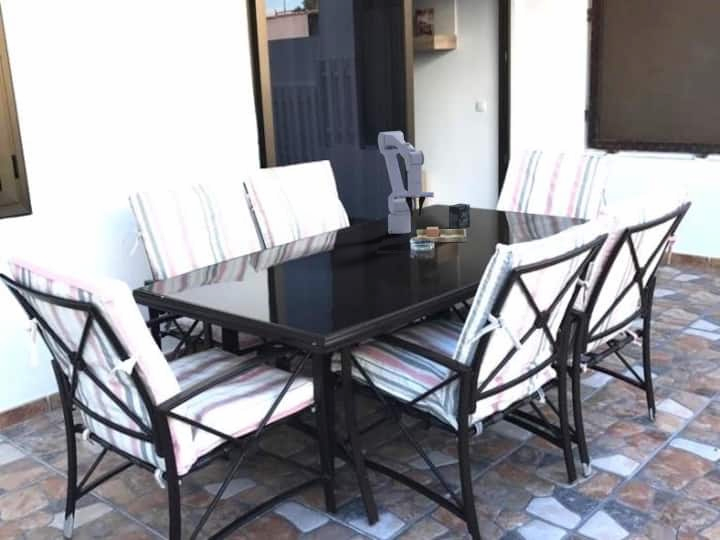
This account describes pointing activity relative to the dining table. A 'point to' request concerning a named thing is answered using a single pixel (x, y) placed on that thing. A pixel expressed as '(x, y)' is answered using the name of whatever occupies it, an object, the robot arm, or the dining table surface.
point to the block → (432, 232)
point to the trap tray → (444, 235)
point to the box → (459, 216)
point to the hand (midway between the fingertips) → (416, 215)
